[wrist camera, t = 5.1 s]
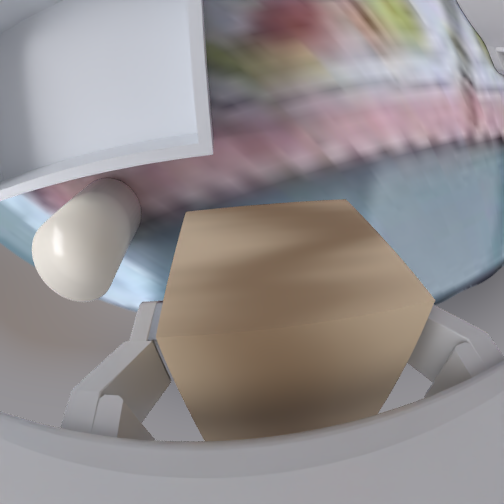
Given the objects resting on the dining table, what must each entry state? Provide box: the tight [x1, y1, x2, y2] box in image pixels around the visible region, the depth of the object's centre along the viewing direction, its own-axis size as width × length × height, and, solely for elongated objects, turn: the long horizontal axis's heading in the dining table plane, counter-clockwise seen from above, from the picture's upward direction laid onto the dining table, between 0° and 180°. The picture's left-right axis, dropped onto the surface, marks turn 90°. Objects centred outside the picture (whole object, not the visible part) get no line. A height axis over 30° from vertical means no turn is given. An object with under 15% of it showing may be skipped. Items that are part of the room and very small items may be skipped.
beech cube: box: [156, 199, 435, 441], centre depth 8 cm, size 5×5×5 cm
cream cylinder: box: [32, 178, 141, 302], centre depth 16 cm, size 5×5×7 cm
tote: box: [0, 0, 214, 201], centre depth 11 cm, size 17×13×6 cm
